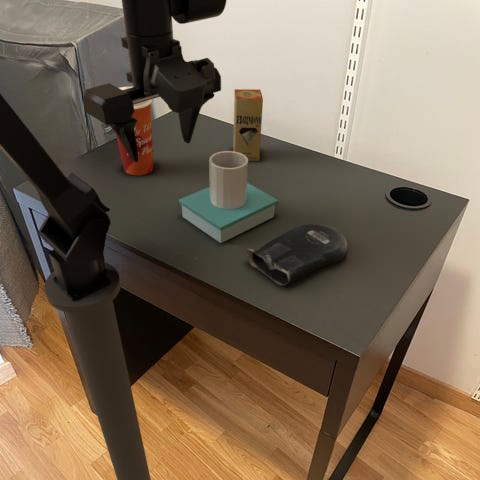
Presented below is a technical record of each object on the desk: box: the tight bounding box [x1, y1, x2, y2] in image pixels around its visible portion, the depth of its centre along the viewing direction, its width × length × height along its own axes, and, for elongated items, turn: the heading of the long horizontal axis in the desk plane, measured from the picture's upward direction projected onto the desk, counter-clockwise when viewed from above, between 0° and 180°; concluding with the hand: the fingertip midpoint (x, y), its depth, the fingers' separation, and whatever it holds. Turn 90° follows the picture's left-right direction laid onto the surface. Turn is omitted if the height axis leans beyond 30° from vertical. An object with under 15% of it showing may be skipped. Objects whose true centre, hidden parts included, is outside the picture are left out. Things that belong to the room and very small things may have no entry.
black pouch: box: [245, 223, 348, 286], centre depth 73 cm, size 9×6×15 cm
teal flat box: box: [178, 182, 279, 244], centre depth 81 cm, size 13×11×3 cm
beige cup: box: [208, 150, 249, 209], centre depth 77 cm, size 6×6×7 cm
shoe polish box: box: [232, 88, 264, 162], centre depth 94 cm, size 5×5×12 cm
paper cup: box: [115, 86, 154, 176], centre depth 88 cm, size 8×8×14 cm
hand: (162, 151), depth 70 cm, fingers open, 9 cm apart
